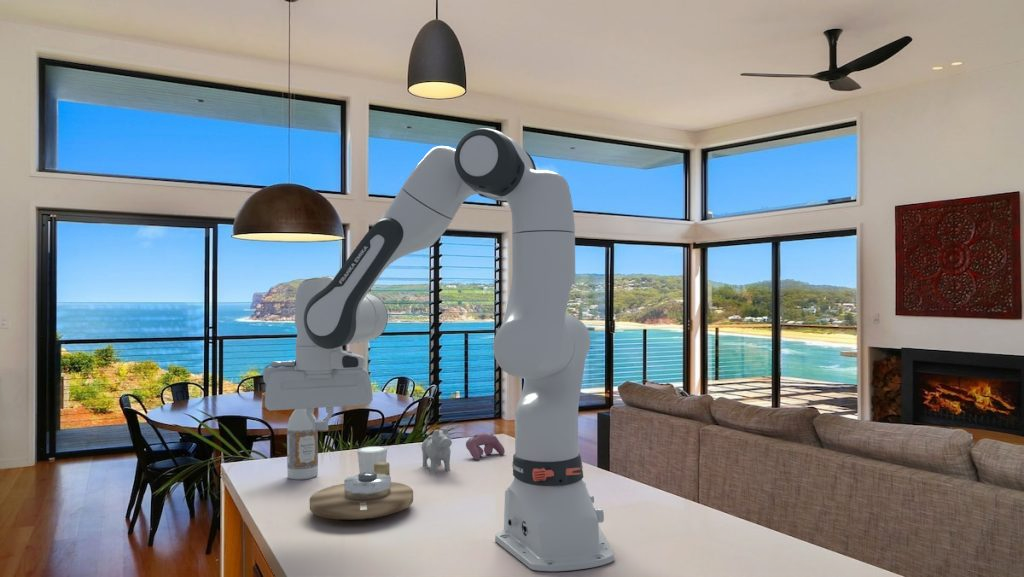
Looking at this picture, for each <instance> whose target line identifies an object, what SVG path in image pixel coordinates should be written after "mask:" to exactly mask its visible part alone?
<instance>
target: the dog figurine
mask: <svg viewBox="0 0 1024 577" xmlns="http://www.w3.org/2000/svg"><path fill="white" fill-rule="evenodd" d="M452 443H453V441H452V440H451V438H450V434H449V429H448V427H445V428H444V427H443V428H442V429H435V430H433V431H432V435H428V436H427V437H426V438H425V439H424V440H423V442H422V443H421V452H422V467H423V468H428V467H429V465H428V459H429V460H430V473H431V474H435V473H436V472H437V466H442V461H443V464H444V467H443V468H444V471H445V472H450V471H451V467H450V462H451V461H450V460H451V452H452V451H451V446H452Z"/></svg>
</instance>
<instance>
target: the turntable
mask: <svg viewBox="0 0 1024 577" xmlns="http://www.w3.org/2000/svg"><path fill="white" fill-rule="evenodd" d="M390 470H391V469H390V462H387V461H386V462H379V463H375V464H374V472H376V473H379V474H386V475H389V476H390V477H391V475H390V474H391V473H390ZM413 502H414V489H413V488H412V487H410V486H409V485H407V484H403V483H401V482H395V481H391V494H390V495H389V496H387V497H385V498H382V499H378V500H372V501H353V500H348V499H346V498H345V497H344V483H340V484H336V485H331V486H327V487H326V488H323V489H320V490H318V491H316V492H314V493H313V494H312V495H311V496H310V498H309V510H310V512H311V513H312V514H314V515H315V516H318V517H322V518H326V519H333V520H339V519H366V518H374V517H380V516H383V517H386V516H388V515H391V514H396V513H398V512H401V511H402V510H406V509H407V508H409V507H411V505H412V504H413ZM385 515H386V516H385ZM380 518H381V517H380Z"/></svg>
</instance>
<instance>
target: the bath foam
mask: <svg viewBox="0 0 1024 577" xmlns="http://www.w3.org/2000/svg"><path fill="white" fill-rule="evenodd" d="M312 415H313V416H314V418H315V420H316V421H317V418H316V416H315V415H314V413H313V414H312ZM318 432H319V431H313V427H312V422H311V421H310V419H309V418H308V416H307V414H306V409H293V412H292V413H291V415H290V416H289V418H288V422H287V428H286V445H287V446H286V450H287V451H286V452H287V453H286V455H287V457H286V458H287V459H286V460H287V461H286V463H287V466H286V468H287V478H288V479H290V480H295V481H297V480H298V481H301V480H309V479H313V478H316V477H317V476H318V473H319V447H318V445H319V443H318V442H319V441H318V438H319V437H318V436H319V434H318Z"/></svg>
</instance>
